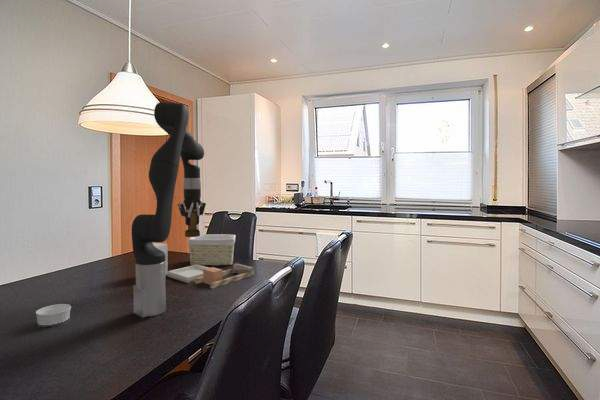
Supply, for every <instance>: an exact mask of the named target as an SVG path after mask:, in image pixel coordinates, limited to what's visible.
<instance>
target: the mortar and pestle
mask: <svg viewBox="0 0 600 400" xmlns="http://www.w3.org/2000/svg"><path fill="white" fill-rule="evenodd" d="M195 201H196V200H195V199H192V202H193V203H195ZM193 208H194V207H193ZM200 234H201V231H200V230H199V229H198V227H197V212H194V210H192V212H191V214H190V226H188V225H187V229H186V230H185V231H184V236H185V237H186V238H190V237H198V236H200Z"/></svg>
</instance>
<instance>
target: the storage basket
mask: <svg viewBox="0 0 600 400" xmlns="http://www.w3.org/2000/svg"><path fill="white" fill-rule="evenodd" d="M235 243H236V234H231V233H229V234H227V233H226V234H225V233H224V234H223V233H221V234H219V233H218V234H216V233H215V234H209V233H206V234H205V233H203V234H202V233H200V236H198V237H189V239H188V240H187V244H188V246H189V247H188V248H189V261H190V266H193V265H201V266H205V267H207V266H213V267H214V266H231V265H232V266H233V264H234V263H233V261H234V252H235V251H234V249H235Z"/></svg>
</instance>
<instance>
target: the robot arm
mask: <svg viewBox="0 0 600 400" xmlns="http://www.w3.org/2000/svg"><path fill="white" fill-rule="evenodd" d="M153 112H154V113H153V114H154V116H153V117H154V120H155V123H156V124H157V125H158V126H159V128H161V129H162V130H163V131H164V132H165V133H166V134H168V135H169V137H168V139H167V140H166V141H165V142H164V143H163V144H162V145H161V146H160V147H159V148H158V149H157V150H156V151H155V152H154V154H153V155H152V157H151V160H150V165H149V170H148V180H149V183H150V185H151V188H152V190H153V193H154V195H155V197H156V210H155V214H148V213H146V214H143V213H142V214H138V215H136V216H135V218H134V219H133V220H132V224H131V243H132V244H131V245H132V253H133V258H134V259H135V284H133V287H132V290H133V297H132V299H133V314H134V315H136V316H138V317H141V318H142V319H143V318H146V317H147V318H148V317H154V316H155V317H156V316H158V315H159V316H160V315H161V314H163V313H165V312H166V310H167V292H166V291H167V288H166V287H167V286H166V285H167V283H166V276H167V275H166V266H165V253H164V252H163V251H161V250H159V249H157V248H156V247H155V246H154V245H153V243H164V242H166V240H168V238H169V236H170V234H171V233H170V232H171V226H172V216H173V204H174V196H175V188H176V183H177V179H178V173H179V168H180V161H181V163H182V166H183V202H181V203H177V207H178V209H179V212H180V215H181V217H183V218H185V220H184V221H185V222H184V223H185V225H186V226H187V227H188V226H190V214H191V212H192V210H194V212H197V225H199V223H200V216H203V215H204V212H205V209H206V204H207V203H206V202H202V201H201V197H202V194H201V193H202V191H201V190H202V189H201V188H202V186H201V185H202V184H201V183H202V182H201V167H200V166H199V165H197V164H196V165H195V164H192V163H190V161H200V160H202V159H203V158H204V156H205V149H204V147H203V146H202V144H201V143H199V142H198V141H197V140H195V139H194V136H193V135H192V133H191V132H190V131H189V130H188V129H187V127H188V123H189V118H190V117H189V116H190V111H189V107H188V106H187V105H186V104H184V103H181V102H180V103H179V102H170V101H169V102H168V101H160V102H158V103H156V104H155V106H154V111H153ZM192 199H195V200H196V201H195V203H193V202H192ZM193 207H194V208H193Z"/></svg>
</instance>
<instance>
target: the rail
mask: <svg viewBox="0 0 600 400" xmlns="http://www.w3.org/2000/svg"><path fill="white" fill-rule="evenodd" d="M232 266H233V268H231V269H230V268H229V269H225V270H223V277H224V276H229V275H232V274H235V273H236V274H237V275H234V276H230V277H228V278H223V280H220V281H217V282H213V283H210V285H209V286H210V287H209V288H210V289H212V290H213V289H216V288H219V287H222V286H225V285H228V284H232V283H235V282H238V281H241V280H244V279H247V278H250V277H254V275H255V273H254V272H255V269H254V267H253V266H249V265H244V264H241V263H237V262H236V263H232ZM194 283H195V284H196V285H197V284H201V283H203V277H200V278H196V279H195V282H194Z"/></svg>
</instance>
